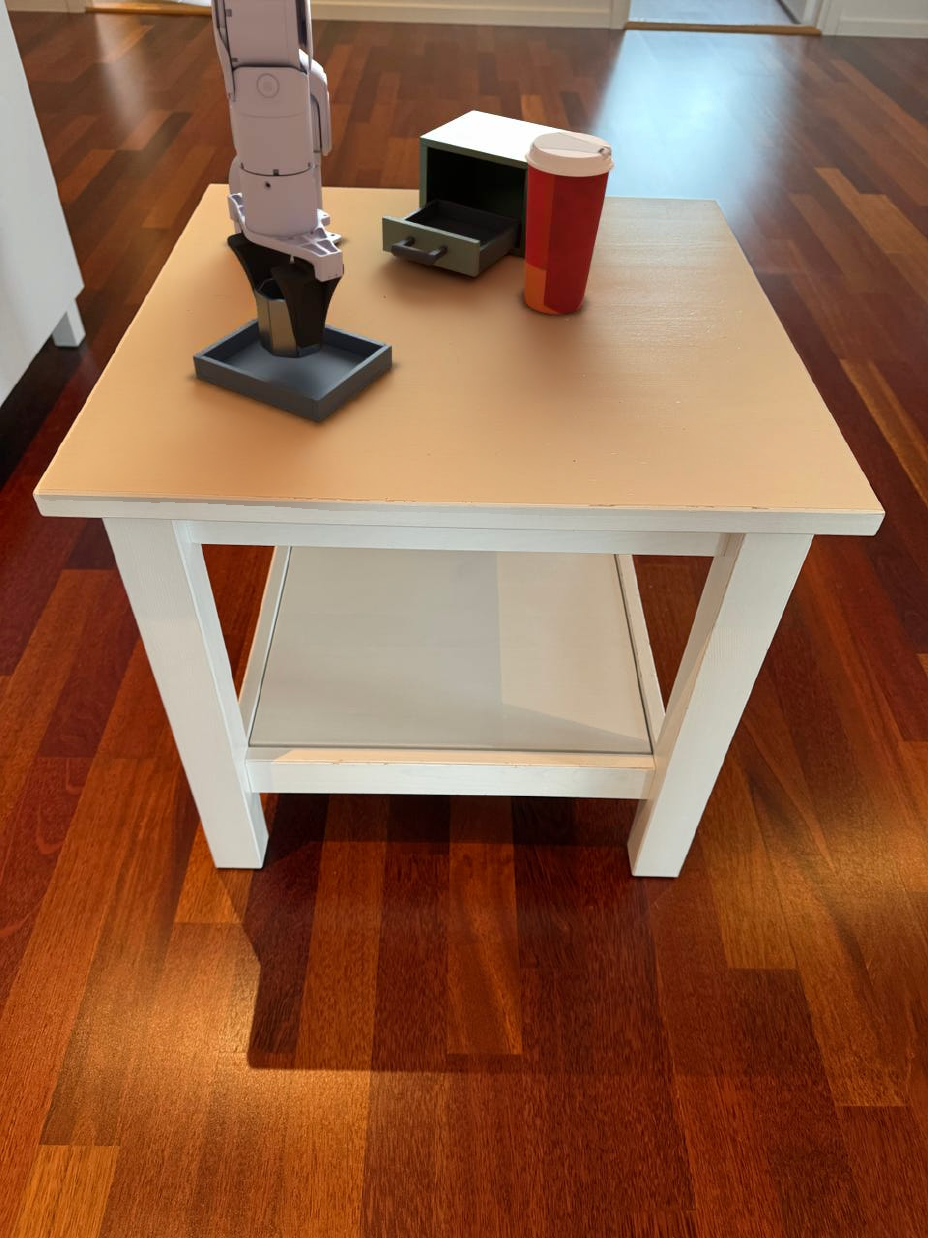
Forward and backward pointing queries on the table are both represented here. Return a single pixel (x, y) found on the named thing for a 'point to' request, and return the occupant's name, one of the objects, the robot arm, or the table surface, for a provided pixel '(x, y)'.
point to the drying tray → (295, 370)
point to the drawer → (451, 236)
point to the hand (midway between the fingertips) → (292, 330)
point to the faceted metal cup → (278, 323)
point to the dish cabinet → (480, 165)
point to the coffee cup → (563, 217)
